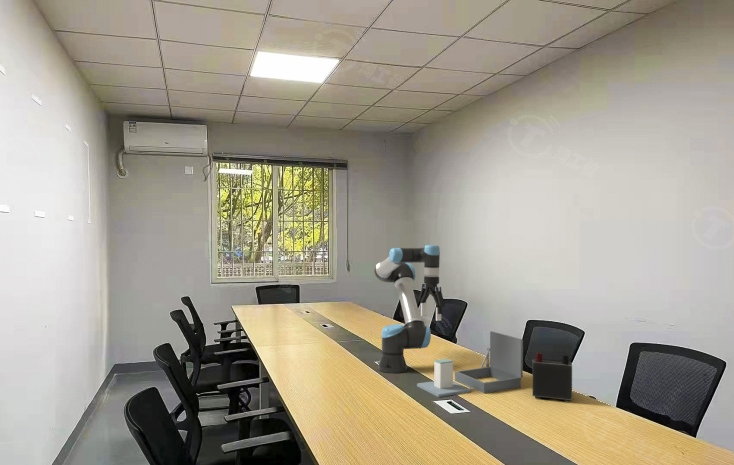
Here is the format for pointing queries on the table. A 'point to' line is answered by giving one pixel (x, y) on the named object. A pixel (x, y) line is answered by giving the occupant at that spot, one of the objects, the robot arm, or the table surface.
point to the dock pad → (445, 391)
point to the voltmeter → (552, 378)
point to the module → (443, 373)
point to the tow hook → (487, 360)
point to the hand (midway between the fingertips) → (430, 318)
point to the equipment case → (497, 366)
